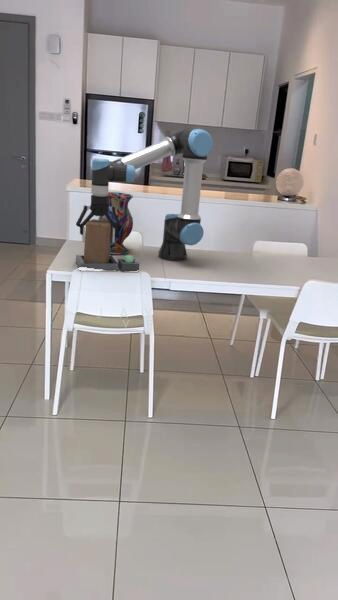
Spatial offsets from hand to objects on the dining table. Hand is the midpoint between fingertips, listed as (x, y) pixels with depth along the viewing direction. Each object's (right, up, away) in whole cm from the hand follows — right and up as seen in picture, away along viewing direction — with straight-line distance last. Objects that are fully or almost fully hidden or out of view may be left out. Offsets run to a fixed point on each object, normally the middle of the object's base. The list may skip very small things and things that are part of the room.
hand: (98, 242), depth 222 cm
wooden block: (-1, -10, +3) cm, 11 cm away
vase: (+3, -1, +36) cm, 36 cm away
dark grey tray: (-1, -11, +4) cm, 12 cm away
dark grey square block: (+13, -12, +4) cm, 19 cm away
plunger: (+14, -11, +3) cm, 18 cm away
